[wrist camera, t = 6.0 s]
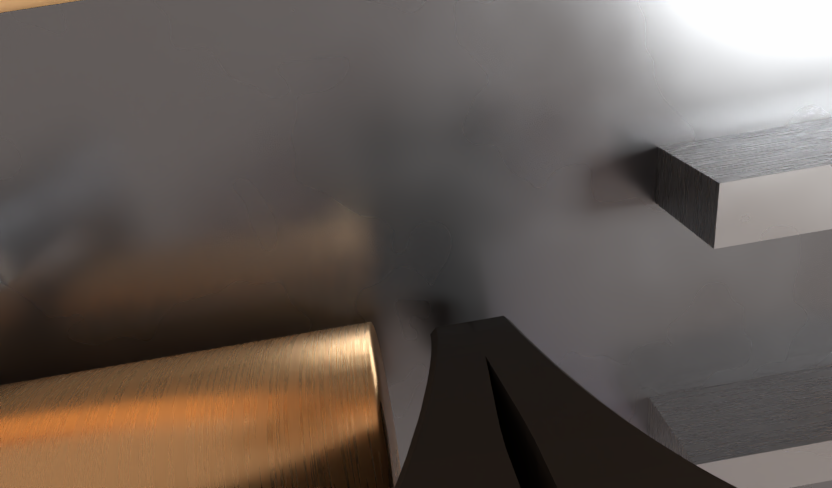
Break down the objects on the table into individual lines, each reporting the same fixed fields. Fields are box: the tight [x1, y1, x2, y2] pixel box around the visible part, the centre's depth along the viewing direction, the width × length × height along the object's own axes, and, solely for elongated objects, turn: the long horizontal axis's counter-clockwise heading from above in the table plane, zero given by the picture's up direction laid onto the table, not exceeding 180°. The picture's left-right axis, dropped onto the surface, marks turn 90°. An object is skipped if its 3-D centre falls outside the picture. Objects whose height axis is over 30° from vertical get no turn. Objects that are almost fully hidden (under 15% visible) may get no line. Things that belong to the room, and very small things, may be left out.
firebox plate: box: [0, 0, 832, 488], centre depth 10 cm, size 13×27×3 cm, turn 98°
